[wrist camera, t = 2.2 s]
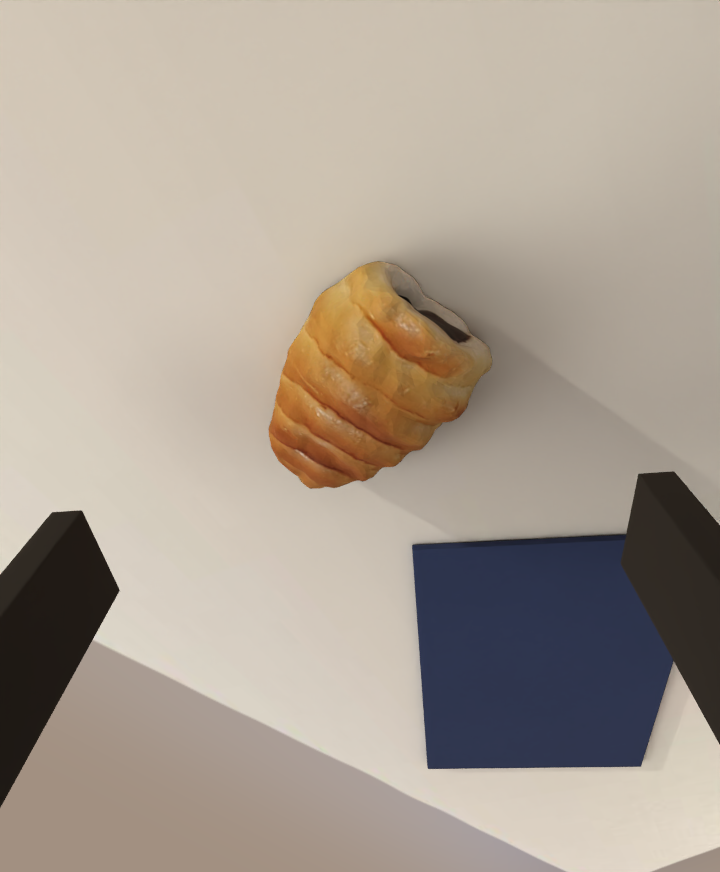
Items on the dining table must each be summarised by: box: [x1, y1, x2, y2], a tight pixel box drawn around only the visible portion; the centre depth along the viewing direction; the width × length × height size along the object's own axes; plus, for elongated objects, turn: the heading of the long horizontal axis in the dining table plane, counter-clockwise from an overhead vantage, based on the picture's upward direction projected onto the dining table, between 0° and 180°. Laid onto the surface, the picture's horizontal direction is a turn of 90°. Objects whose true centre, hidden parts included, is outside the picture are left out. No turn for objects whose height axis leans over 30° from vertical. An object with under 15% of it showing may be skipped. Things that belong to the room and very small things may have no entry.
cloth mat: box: [412, 535, 674, 769], centre depth 30 cm, size 14×20×1 cm
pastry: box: [269, 261, 492, 488], centre depth 20 cm, size 9×7×4 cm
